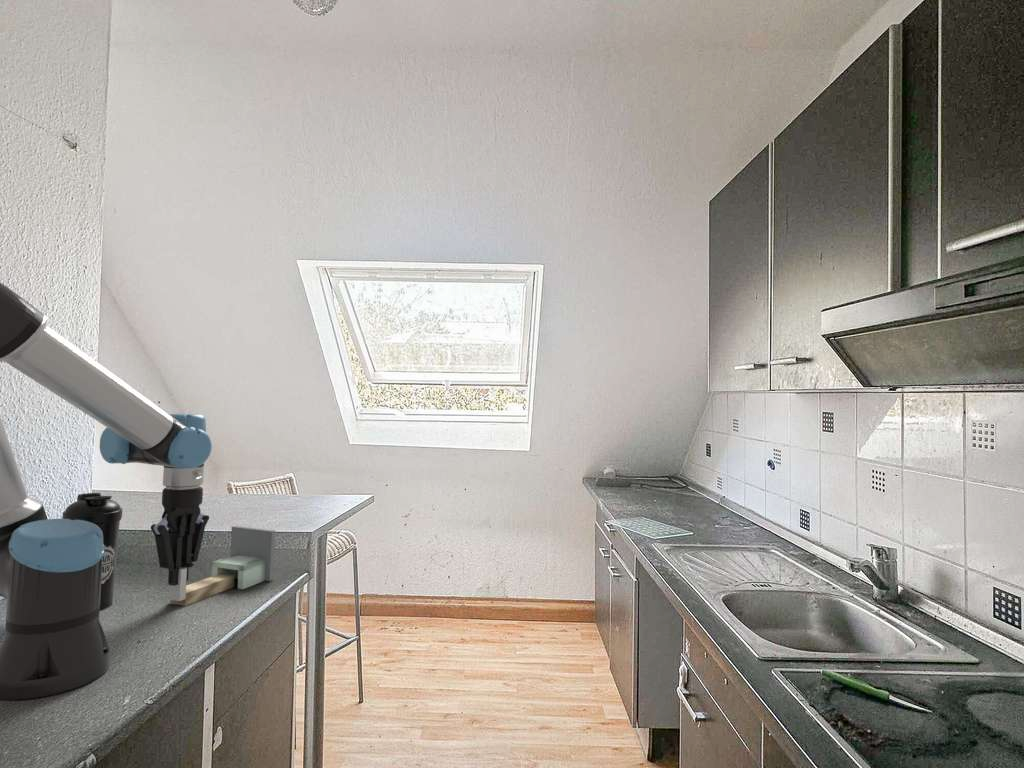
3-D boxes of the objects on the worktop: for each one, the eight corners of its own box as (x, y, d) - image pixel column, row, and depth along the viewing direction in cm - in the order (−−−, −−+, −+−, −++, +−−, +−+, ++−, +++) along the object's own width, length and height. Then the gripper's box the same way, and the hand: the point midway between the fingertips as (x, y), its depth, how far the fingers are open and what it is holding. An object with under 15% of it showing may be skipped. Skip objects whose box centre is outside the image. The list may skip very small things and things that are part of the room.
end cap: (248, 590, 135) (250, 537, 136) (206, 583, 139) (208, 532, 139) (273, 580, 143) (275, 530, 144) (232, 574, 147) (235, 525, 147)
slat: (184, 607, 124) (185, 593, 124) (169, 605, 125) (170, 591, 125) (234, 588, 137) (234, 575, 137) (220, 586, 138) (220, 573, 139)
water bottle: (66, 619, 114) (73, 500, 115) (49, 606, 121) (56, 494, 121) (125, 606, 123) (131, 495, 123) (106, 595, 129) (112, 489, 130)
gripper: (170, 492, 117) (164, 611, 116) (221, 484, 130) (215, 592, 129) (142, 489, 119) (135, 606, 119) (193, 481, 132) (188, 588, 131)
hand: (177, 599), depth 124 cm, fingers closed
